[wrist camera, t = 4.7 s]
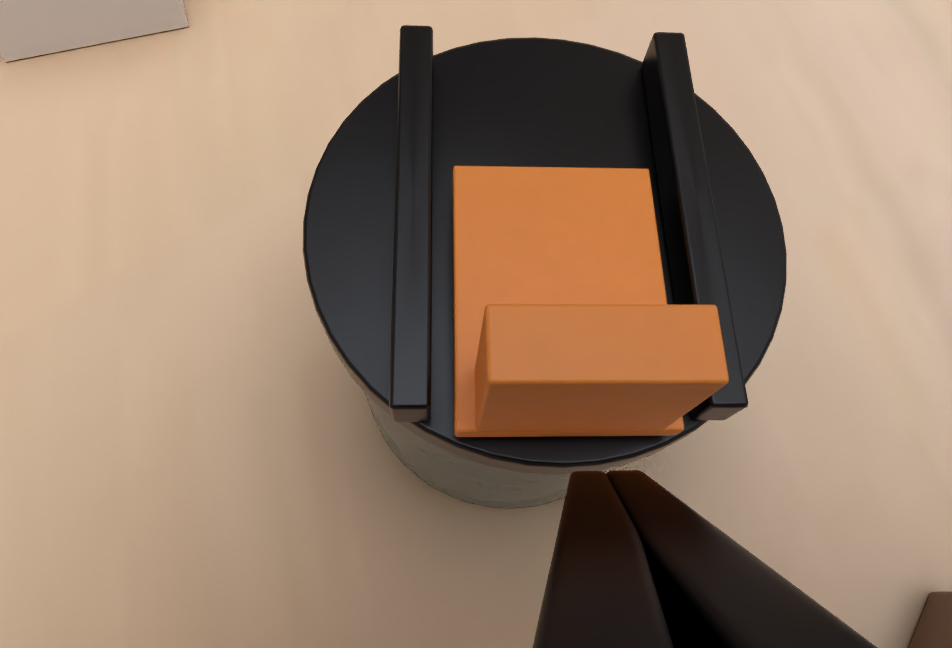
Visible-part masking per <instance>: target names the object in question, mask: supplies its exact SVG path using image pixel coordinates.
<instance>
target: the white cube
mask: <svg viewBox="0 0 952 648" xmlns="http://www.w3.org/2000/svg"><path fill="white" fill-rule="evenodd" d="M184 27H189V25H188V21H187V16H186V12H185V7H184V3H183V0H0V56H1V57H2V59H3V60H4V61H5V62H8V61H13V60H18V59H24V58H29V57H34V56H39V55H44V54H49V53H55V52H60V51H65V50H70V49H75V48H80V47H85V46H91V45H96V44H101V43H106V42H111V41H116V40H122V39H127V38H132V37H137V36H142V35H147V34H153V33H158V32H163V31H168V30H173V29H178V28H184Z"/></svg>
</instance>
